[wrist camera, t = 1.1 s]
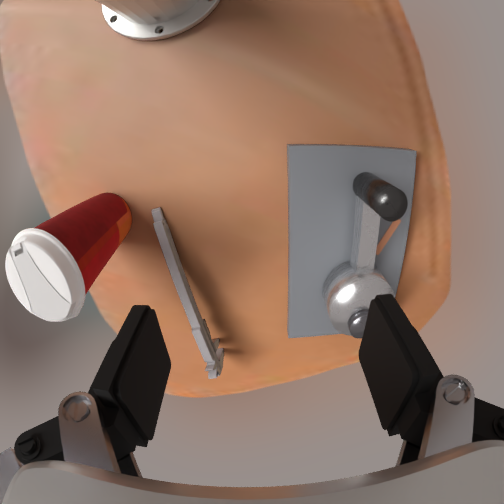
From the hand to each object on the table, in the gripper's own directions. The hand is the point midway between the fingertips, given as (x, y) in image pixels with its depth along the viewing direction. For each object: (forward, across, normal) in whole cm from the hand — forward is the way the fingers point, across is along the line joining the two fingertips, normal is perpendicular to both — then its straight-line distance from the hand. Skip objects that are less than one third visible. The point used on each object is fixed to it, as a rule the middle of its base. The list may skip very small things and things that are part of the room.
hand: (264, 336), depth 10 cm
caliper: (+20, +8, +11) cm, 24 cm away
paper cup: (+20, +16, +2) cm, 26 cm away
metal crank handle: (+18, -10, +6) cm, 21 cm away
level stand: (+20, -10, +6) cm, 23 cm away
